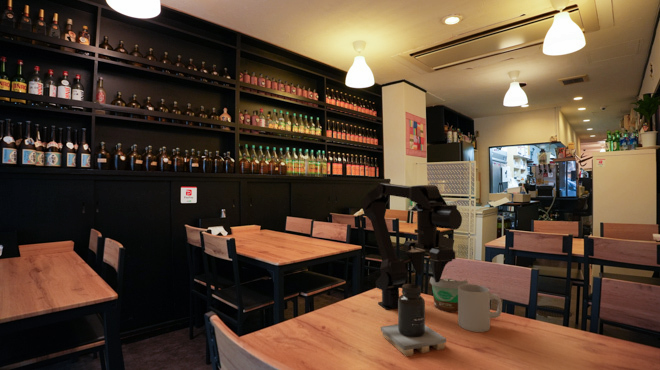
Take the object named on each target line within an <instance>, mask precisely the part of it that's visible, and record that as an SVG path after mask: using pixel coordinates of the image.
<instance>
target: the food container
mask: <svg viewBox="0 0 660 370" xmlns="http://www.w3.org/2000/svg"><path fill="white" fill-rule="evenodd" d="M429 284H431V286H432V287H431V288H432V296H433V304H434V305H433V306H434V307H435V308H436V309H437V310H439V311H442V312H446V313H458V286H460V285H464V284H469V281H468V280H467V278H466V279H465V280H456V279H452V278H440V281H439V282H435V279H434V277H433V276H432V275H431V277H430V279H429Z"/></svg>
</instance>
